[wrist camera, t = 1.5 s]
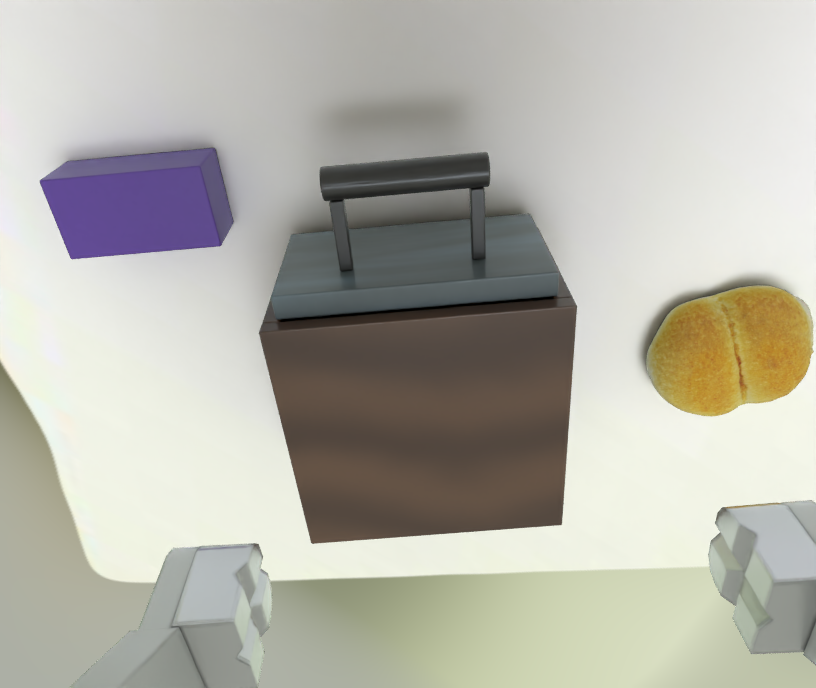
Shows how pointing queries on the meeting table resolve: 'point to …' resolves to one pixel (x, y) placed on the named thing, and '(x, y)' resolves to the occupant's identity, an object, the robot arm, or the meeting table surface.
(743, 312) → the bread roll
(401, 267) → the drawer
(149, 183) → the bar
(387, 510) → the cabinet
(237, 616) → the robot arm
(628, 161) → the meeting table surface
